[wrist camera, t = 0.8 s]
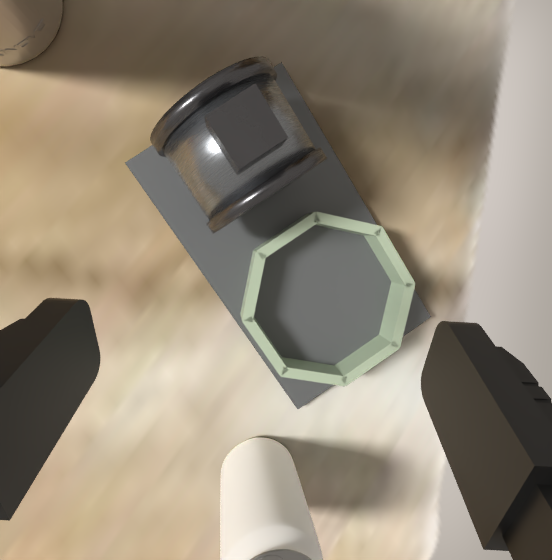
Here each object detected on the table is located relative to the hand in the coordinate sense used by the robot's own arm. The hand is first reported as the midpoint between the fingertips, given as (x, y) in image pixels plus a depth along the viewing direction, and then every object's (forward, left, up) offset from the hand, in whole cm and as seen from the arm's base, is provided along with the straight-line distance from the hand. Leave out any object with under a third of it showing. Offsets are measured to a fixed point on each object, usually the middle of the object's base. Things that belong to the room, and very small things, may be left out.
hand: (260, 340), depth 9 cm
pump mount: (+1, +5, -23) cm, 23 cm away
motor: (-6, +5, -22) cm, 23 cm away
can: (+16, -8, -23) cm, 30 cm away
